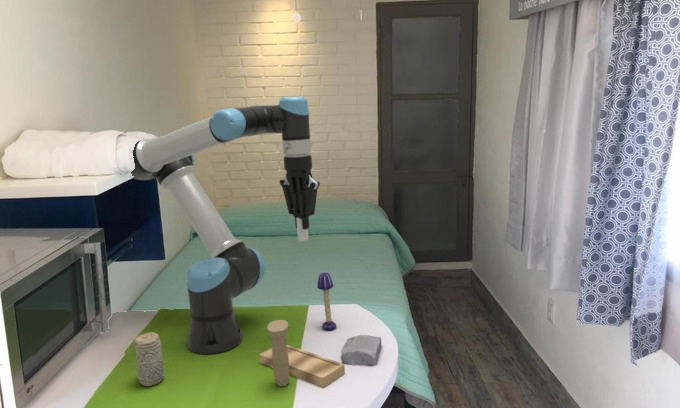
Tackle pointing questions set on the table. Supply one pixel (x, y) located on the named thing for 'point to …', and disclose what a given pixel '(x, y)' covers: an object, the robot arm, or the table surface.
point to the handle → (279, 351)
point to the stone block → (361, 350)
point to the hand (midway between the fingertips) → (303, 240)
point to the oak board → (308, 366)
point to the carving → (149, 359)
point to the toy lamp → (326, 299)
